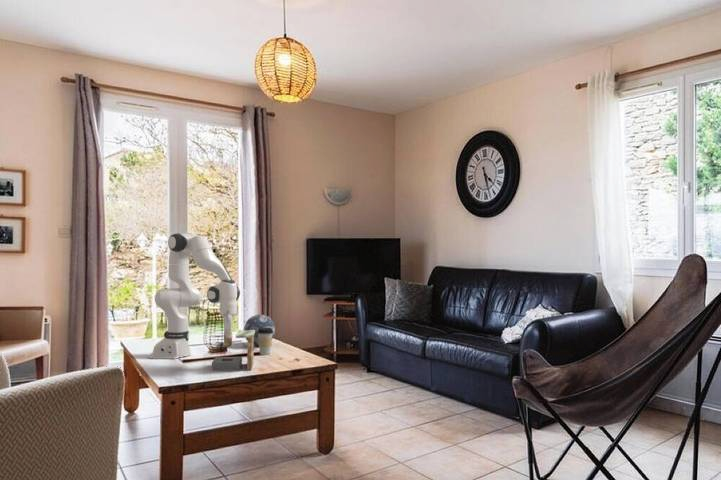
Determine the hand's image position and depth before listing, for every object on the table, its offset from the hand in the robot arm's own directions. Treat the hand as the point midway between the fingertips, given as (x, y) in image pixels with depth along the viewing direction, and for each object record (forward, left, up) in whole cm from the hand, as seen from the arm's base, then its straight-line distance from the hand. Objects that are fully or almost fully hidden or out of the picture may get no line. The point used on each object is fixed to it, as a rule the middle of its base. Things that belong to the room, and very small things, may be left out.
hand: (227, 336), depth 259 cm
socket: (0, 0, -16) cm, 16 cm away
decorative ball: (+13, +55, -17) cm, 59 cm away
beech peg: (0, 0, -5) cm, 5 cm away
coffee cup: (+18, +30, -17) cm, 39 cm away
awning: (+9, 0, -16) cm, 19 cm away
